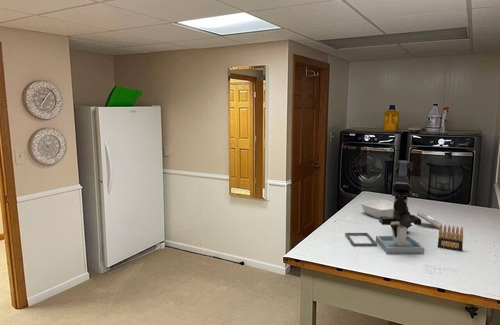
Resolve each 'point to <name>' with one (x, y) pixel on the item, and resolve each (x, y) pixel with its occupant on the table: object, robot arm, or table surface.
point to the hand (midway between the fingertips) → (399, 237)
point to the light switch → (429, 219)
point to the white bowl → (378, 208)
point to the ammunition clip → (451, 238)
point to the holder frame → (360, 243)
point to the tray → (394, 248)
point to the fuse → (400, 235)
